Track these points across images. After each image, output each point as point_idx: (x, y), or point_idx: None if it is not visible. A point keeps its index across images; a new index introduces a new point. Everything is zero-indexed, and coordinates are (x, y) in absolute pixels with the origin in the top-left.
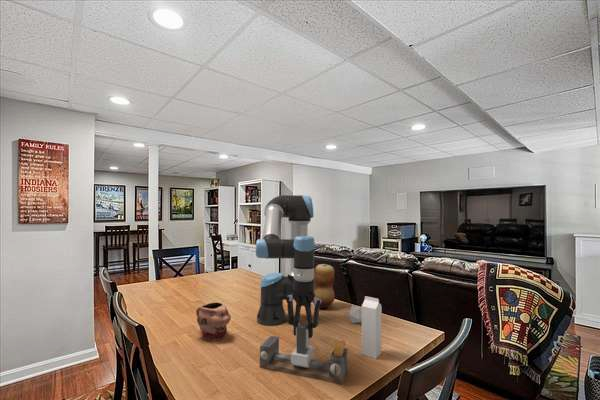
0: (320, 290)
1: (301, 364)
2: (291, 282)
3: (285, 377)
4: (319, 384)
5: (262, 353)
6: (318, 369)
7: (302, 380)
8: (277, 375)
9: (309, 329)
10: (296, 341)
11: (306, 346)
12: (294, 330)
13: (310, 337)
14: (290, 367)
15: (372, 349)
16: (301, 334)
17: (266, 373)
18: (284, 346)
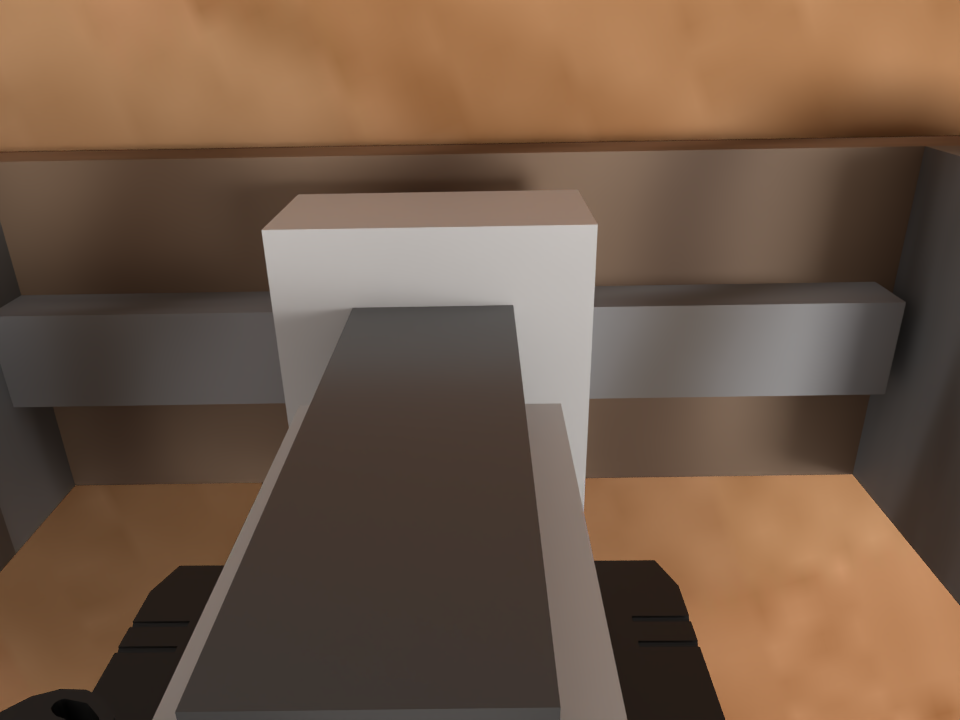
0: None
1: (396, 196)
2: None
3: (594, 24)
4: (100, 42)
5: None
6: (197, 286)
7: (346, 45)
8: (720, 28)
9: (31, 712)
10: (554, 454)
11: None
12: (672, 661)
13: (191, 577)
14: (581, 194)
15: None
16: (373, 521)
17: (893, 16)
18: (819, 665)
